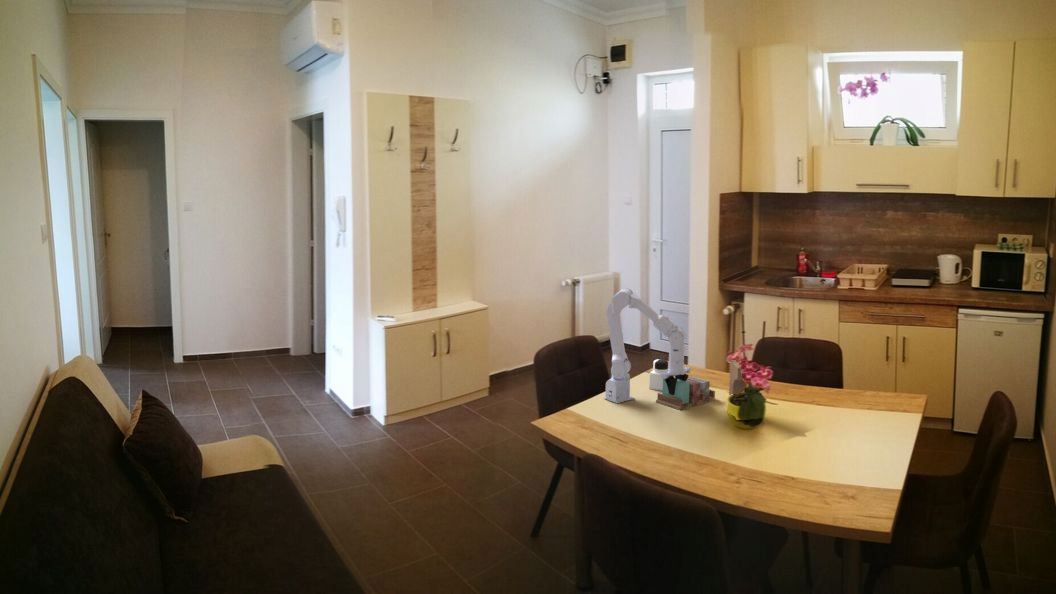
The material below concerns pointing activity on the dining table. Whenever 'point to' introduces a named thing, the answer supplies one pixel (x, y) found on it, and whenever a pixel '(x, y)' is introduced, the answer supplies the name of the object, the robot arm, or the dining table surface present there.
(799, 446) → the dining table surface
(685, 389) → the teal book
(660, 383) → the medicine bottle
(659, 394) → the book rack
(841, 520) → the dining table surface
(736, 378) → the decorative block
